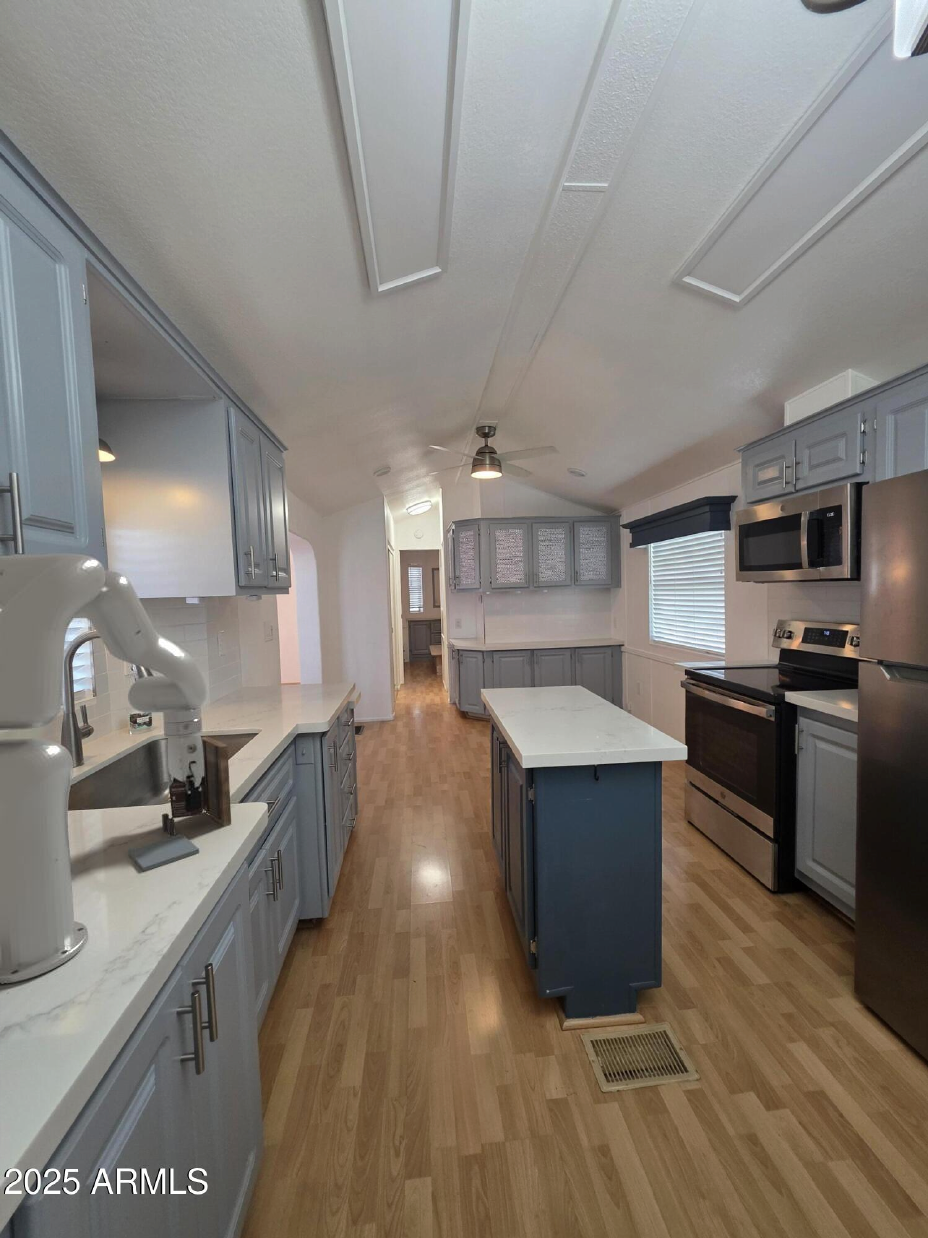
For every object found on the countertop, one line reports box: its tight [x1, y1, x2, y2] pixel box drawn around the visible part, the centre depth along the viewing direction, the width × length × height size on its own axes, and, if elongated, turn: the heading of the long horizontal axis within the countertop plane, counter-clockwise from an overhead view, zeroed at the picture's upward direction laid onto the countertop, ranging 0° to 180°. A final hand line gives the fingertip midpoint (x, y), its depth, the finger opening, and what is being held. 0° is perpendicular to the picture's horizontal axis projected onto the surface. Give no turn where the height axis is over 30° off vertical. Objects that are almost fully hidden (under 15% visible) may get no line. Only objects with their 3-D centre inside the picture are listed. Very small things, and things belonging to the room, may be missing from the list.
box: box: [168, 776, 207, 819], centre depth 122 cm, size 6×6×7 cm
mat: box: [128, 833, 200, 872], centre depth 110 cm, size 10×10×1 cm
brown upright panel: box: [161, 736, 232, 838], centre depth 123 cm, size 12×12×18 cm
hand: (186, 804), depth 122 cm, fingers closed on box, 8 cm apart
